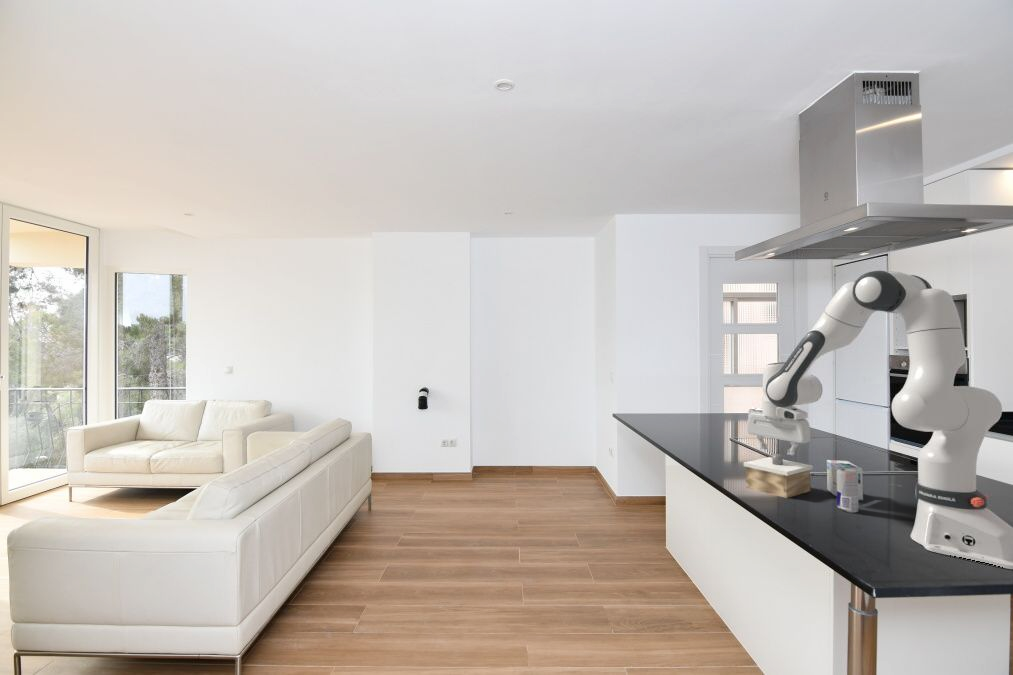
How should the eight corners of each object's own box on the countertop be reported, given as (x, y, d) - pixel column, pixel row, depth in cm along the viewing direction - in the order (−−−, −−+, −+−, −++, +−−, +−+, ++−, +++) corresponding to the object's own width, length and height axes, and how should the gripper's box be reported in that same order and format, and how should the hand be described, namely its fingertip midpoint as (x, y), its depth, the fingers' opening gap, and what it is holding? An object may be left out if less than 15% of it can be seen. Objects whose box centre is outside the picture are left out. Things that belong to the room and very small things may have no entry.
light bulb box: (863, 502, 163) (863, 468, 163) (839, 501, 164) (839, 467, 164) (848, 493, 173) (848, 460, 173) (826, 491, 175) (825, 459, 175)
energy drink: (845, 506, 159) (844, 466, 159) (862, 511, 154) (862, 471, 154) (832, 508, 157) (832, 468, 158) (850, 514, 152) (849, 472, 153)
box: (810, 493, 173) (810, 469, 173) (786, 500, 165) (786, 475, 166) (769, 483, 185) (769, 460, 185) (745, 489, 177) (745, 466, 177)
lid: (812, 471, 173) (812, 456, 173) (787, 478, 165) (787, 462, 165) (769, 462, 185) (769, 448, 186) (743, 468, 178) (743, 453, 178)
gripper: (743, 407, 182) (742, 447, 183) (802, 415, 165) (802, 459, 165) (753, 406, 186) (753, 445, 186) (813, 413, 168) (812, 456, 169)
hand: (776, 451), depth 175 cm, fingers open, 8 cm apart
